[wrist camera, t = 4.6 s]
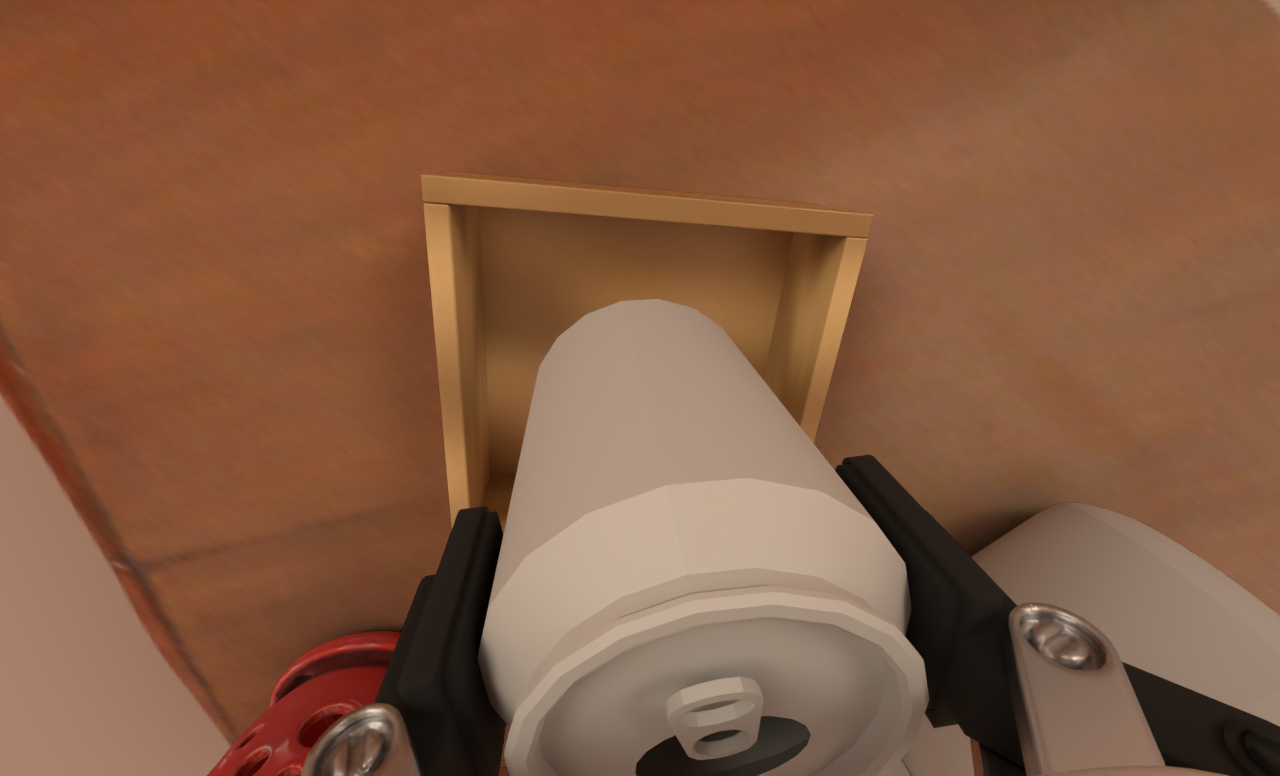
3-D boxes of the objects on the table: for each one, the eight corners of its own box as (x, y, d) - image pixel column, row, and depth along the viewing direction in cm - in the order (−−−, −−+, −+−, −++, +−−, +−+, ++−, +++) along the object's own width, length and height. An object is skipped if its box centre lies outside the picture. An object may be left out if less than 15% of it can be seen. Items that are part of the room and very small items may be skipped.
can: (565, 496, 19) (541, 928, 9) (506, 317, 16) (348, 657, 5) (750, 455, 19) (957, 833, 9) (730, 269, 16) (1027, 506, 5)
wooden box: (458, 171, 19) (419, 173, 15) (812, 203, 21) (875, 213, 16) (477, 482, 25) (453, 552, 20) (751, 486, 27) (785, 551, 22)
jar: (1205, 694, 31) (884, 915, 32) (1008, 501, 38) (744, 688, 38) (1707, 843, 14) (996, 1314, 15) (1192, 444, 21) (710, 784, 21)
